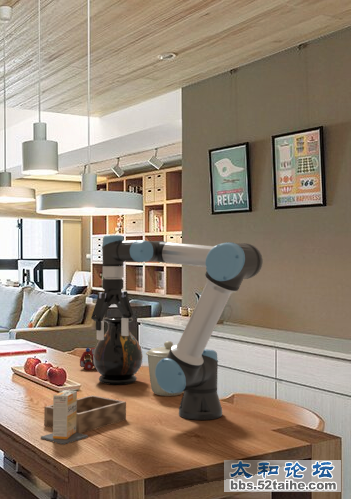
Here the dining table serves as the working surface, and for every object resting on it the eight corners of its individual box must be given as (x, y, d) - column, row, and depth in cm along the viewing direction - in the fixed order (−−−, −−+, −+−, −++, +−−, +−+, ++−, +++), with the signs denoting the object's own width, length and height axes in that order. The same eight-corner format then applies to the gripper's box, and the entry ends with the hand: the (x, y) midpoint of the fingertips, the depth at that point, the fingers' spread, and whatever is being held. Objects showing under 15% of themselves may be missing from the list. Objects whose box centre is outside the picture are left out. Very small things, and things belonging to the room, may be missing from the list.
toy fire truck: (78, 368, 318) (78, 347, 318) (103, 367, 322) (103, 345, 322) (81, 370, 311) (81, 349, 311) (106, 369, 315) (106, 347, 315)
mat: (87, 437, 199) (87, 435, 199) (63, 444, 191) (63, 442, 191) (65, 431, 205) (65, 429, 205) (40, 438, 197) (40, 436, 197)
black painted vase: (136, 387, 273) (136, 320, 273) (86, 385, 276) (87, 319, 276) (147, 378, 294) (147, 315, 294) (100, 376, 297) (101, 314, 297)
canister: (200, 393, 261) (200, 341, 261) (167, 400, 249) (167, 345, 249) (169, 387, 274) (169, 337, 274) (136, 393, 262) (136, 340, 262)
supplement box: (67, 440, 194) (67, 395, 194) (52, 438, 195) (52, 395, 195) (77, 432, 202) (77, 390, 202) (62, 431, 203) (62, 389, 203)
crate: (92, 412, 230) (92, 395, 230) (125, 419, 220) (126, 401, 220) (44, 425, 213) (44, 406, 213) (78, 433, 203) (78, 414, 203)
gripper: (126, 277, 246) (126, 333, 245) (81, 279, 225) (81, 340, 225) (142, 277, 241) (142, 334, 241) (97, 279, 221) (97, 342, 221)
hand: (112, 337), depth 233 cm, fingers open, 13 cm apart
